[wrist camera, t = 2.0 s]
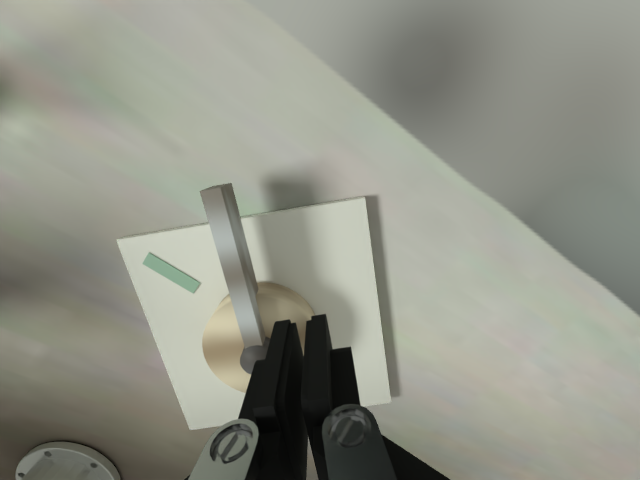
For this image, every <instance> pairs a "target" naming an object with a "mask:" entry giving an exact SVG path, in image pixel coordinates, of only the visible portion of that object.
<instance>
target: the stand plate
mask: <svg viewBox="0 0 640 480" xmlns="http://www.w3.org/2000/svg"><path fill="white" fill-rule="evenodd" d="M240 218H241V222H242V226H243V230H244V234H245V238H246V242H247V246H248V250H249V254H250V258H251V261H252V265H253V269H254V273H255V277H256V281H257V283H260V282H262V283H274V284H278V285H282V286H285V287H287V288H289V289H291V290H293V291H295V292H296V293H298V294H299V295H301V296H302V297H303V298H304V299H305V300H306V301H307V302H308V304H309V305H310V306H311V308H312V309H313V311H314V313H315V315H321V314H326V316H327V321H328V327H329V332H330V337H331V343H332V348H333V349H337V348H344V347H351V349H352V355H353V361H354V367H355V374H356V380H357V386H358V392H359V399H360V405H361V406H363V407H364V406H372V405H379V404H386V403H391V397H390V389H389V381H388V373H387V365H386V358H385V350H384V342H383V334H382V326H381V318H380V311H379V303H378V295H377V287H376V279H375V271H374V264H373V256H372V248H371V240H370V232H369V225H368V217H367V209H366V201H365V197H364V196H361V197H355V198H350V199H344V200H338V201H332V202H326V203H320V204H314V205H308V206H302V207H297V208H291V209H285V210H279V211H273V212H267V213H261V214H255V215H250V216H244V217H240ZM116 241H117V244H118V246H119V249H120V251H121V254H122V256H123V259H124V262H125V264H126V267H127V269H128V272H129V275H130V277H131V280H132V282H133V285H134V287H135V290H136V293H137V295H138V298H139V300H140V303H141V305H142V308H143V311H144V313H145V316H146V318H147V321H148V323H149V326H150V329H151V331H152V334H153V336H154V339H155V341H156V344H157V347H158V349H159V352H160V354H161V357H162V359H163V362H164V365H165V367H166V370H167V372H168V375H169V377H170V380H171V383H172V385H173V388H174V390H175V393H176V395H177V398H178V401H179V403H180V406H181V408H182V411H183V414H184V416H185V419H186V421H187V424H188V426H189V429H190V430H195V429H202V428H209V427H217V426H223V425H224V424H226V423H228V422H230V421H232V420H236V419H238V417H239V414H240V410H241V407H242V404H243V400H244V397H245V394H246V393H244V392H241V391H238V390H236V389H234V388H231V387H230V386H228V385H226V384H225V383H224V382H222V381H221V380H220V379H219V378H218V377H217V376H216V375H215V374H214V373H213V372H212V371H211V369H210V368H209V366H208V364H207V362H206V360H205V357H204V354H203V348H202V338H203V333H204V330H205V327H206V325H207V323H208V321H209V320H210V318H211V316H212V315H213V313H214V312H215V310H216V309H217V307H218V305H219V304H220V303H221V301H222V300H223V299H224V298H225V297H226V296H227V295H228V294H229V291H228V287H227V284H226V281H225V277H224V274H223V270H222V267H221V263H220V260H219V256H218V253H217V249H216V246H215V242H214V239H213V235H212V232H211V229H210V225H209V222H208V223H203V224H197V225H191V226H185V227H179V228H173V229H167V230H161V231H156V232H150V233H144V234H138V235H132V236H126V237H122V238H120V239H117V240H116Z"/></svg>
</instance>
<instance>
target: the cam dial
mask: <svg viewBox="0 0 640 480" xmlns="http://www.w3.org/2000/svg"><path fill="white" fill-rule="evenodd" d="M200 194H201V197H202V201H203V204H204V208H205V211H206V215H207V218H208V222H209V225H210V229H211V232H212V235H213V239H214V242H215V246H216V249H217V253H218V256H219V260H220V263H221V267H222V270H223V274H224V277H225V281H226V284H227V287H228V291H229V294H228V295H227V296H226V297H225V298H224V299H223V300H222V301H221V303H220V304H219V305H218V307H217V309H216V310H215V312H214V313H213V315H212V316H211V318H210V320H209V321H208V323H207V325H206V327H205V330H204V333H203V338H202V348H203V354H204V357H205V360H206V362H207V364H208V366H209V368H210V369H211V371H212V372H213V373H214V374H215V375H216V376H217V377H218V378H219V379H220V380H221V381H222V382H224V383H225V384H226V385H228V386H230V387H231V388H234V389H236V390H238V391H241V392H244V393H246V390H247V387H248V384H249V380H250V377H251V374H252V370H253V367H254V364H255V362H256V361H257V360H262V359H265V358H266V354H267V350H268V346H269V342H270V338H271V334H272V330H273V327H274V323H275V322H276V321H282V320H288V319H290V321H291V323H296V325H297V329H298V334H299V338H300V343H301V347H302V351H303V356H304V345H305V332H306V321H308V320H311V316H315V313H314V311H313V309H312V308H311V306H310V305H309V304H308V302H307V301H306V300H305V299H304V298H303V297H302V296H301V295H299V294H298V293H296V292H295V291H293V290H291V289H289V288H287V287H285V286H282V285H278V284H274V283H262V282H260V283H257V281H256V277H255V273H254V269H253V265H252V261H251V258H250V254H249V250H248V246H247V242H246V238H245V234H244V230H243V226H242V222H241V218H240V214H239V211H238V207H237V203H236V199H235V195H234V191H233V187H232V183H228V184H223V185H217V186H212V187H210V188H207V189H204V190H202V191H200Z"/></svg>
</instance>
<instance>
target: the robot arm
mask: <svg viewBox="0 0 640 480" xmlns="http://www.w3.org/2000/svg"><path fill="white" fill-rule="evenodd" d="M308 437H309V441H310V445H311V449H312V454H313V458H314V462H315V466H316V470H317V474H318V479H319V480H450V479H449V478H447V477H445V476H444V475H442V474H441V473H439V472H438V471H436V470H435V469H433V468H432V467H430V466H429V465H427V464H426V463H424V462H423V461H421V460H420V459H418V458H417V457H415V456H413V455H412V454H410V453H409V452H407V451H406V450H404V449H403V448H401V447H400V446H398V445H397V444H395V443H394V442H392V441H391V440H389V439H388V438H386V437H384V436H383V435H381V433H380V430H379V427H378V424H377V422H376V419H375V417H374V416H373V414H372V413H371V412H370V411H369V410H368V409H367V408H365V407H363V406H361V405H360V399H359V392H358V386H357V380H356V374H355V367H354V361H353V355H352V349H351V347H344V348H337V349H333V348H332V343H331V337H330V332H329V327H328V321H327V316H326V314H321V315H315V316H311V320H308V321H306V332H305V345H304V356H303V351H302V347H301V343H300V338H299V334H298V329H297V325H296V323H291V321H290V319H288V320H282V321H276V322H275V323H274V327H273V330H272V334H271V338H270V342H269V346H268V350H267V354H266V358H265V359H262V360H257V361H256V362H255V364H254V367H253V370H252V374H251V377H250V380H249V384H248V387H247V390H246V394H245V397H244V400H243V404H242V407H241V410H240V414H239V417H238V419H236V420H232V421H230V422H228V423H226V424H224V425H223V426H221V427H220V428H218V429H217V430H216V431H215V432H214V433H213V434H212V435H211V437H210V438H209V440H208V441H207V443H206V445H205V447H204V449H203V451H202V453H201V455H200V457H199V459H198V461H197V463H196V465H195V467H194V469H193V471H192V473H191V475H189V476H188V477H187V478H186V479H185V480H306V470H307V446H308ZM15 475H16V480H121V479H120V475H119V473H118V471H117V469H116V468H115V466H114V465H113V464H112V463H111V462H110V461H109V460H108V459H107V458H106V457H105V456H103V455H102V454H100V453H99V452H97V451H95V450H93V449H91V448H89V447H87V446H84V445H80V444H77V443H71V442H50V443H46V444H42V445H39V446H37V447H35V448H33V449H32V450H31V451H30V452H28V453H27V454H26V455H25V457H24V458H23V459H22V460H21V461H20V462H19V464H18V466H17V468H16V473H15Z"/></svg>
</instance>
